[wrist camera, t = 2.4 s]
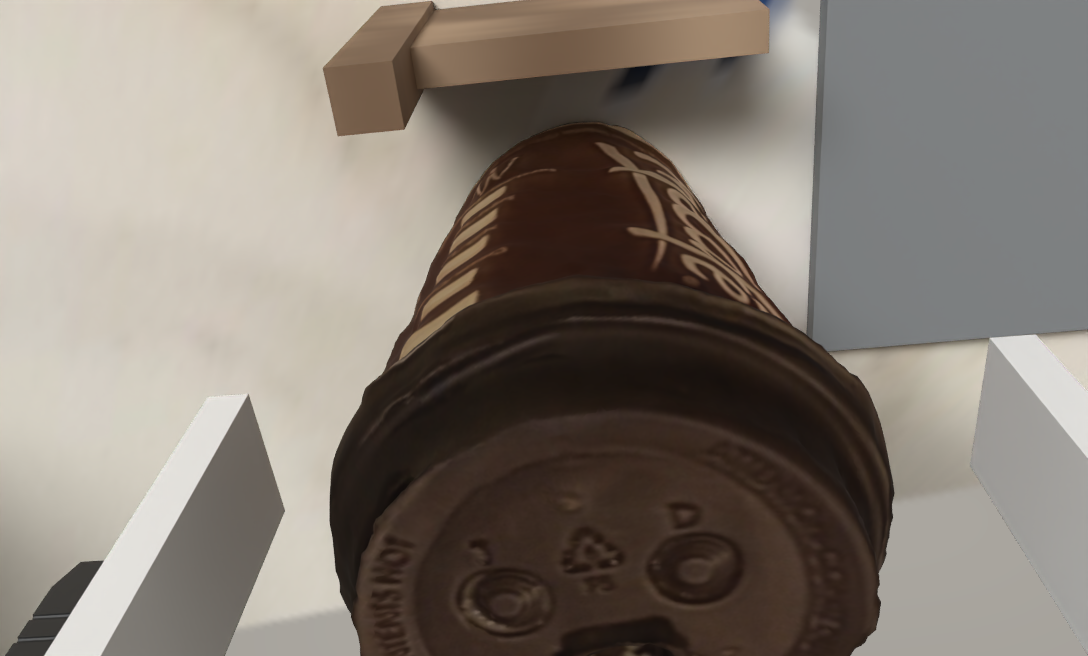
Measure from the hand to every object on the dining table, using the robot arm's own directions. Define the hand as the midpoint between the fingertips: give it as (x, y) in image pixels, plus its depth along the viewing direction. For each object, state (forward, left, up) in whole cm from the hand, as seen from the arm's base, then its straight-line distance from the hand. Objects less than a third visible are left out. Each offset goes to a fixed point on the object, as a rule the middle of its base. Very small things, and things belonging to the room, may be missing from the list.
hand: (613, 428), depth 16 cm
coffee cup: (0, 0, -8) cm, 8 cm away
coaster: (+11, +2, -8) cm, 13 cm away
